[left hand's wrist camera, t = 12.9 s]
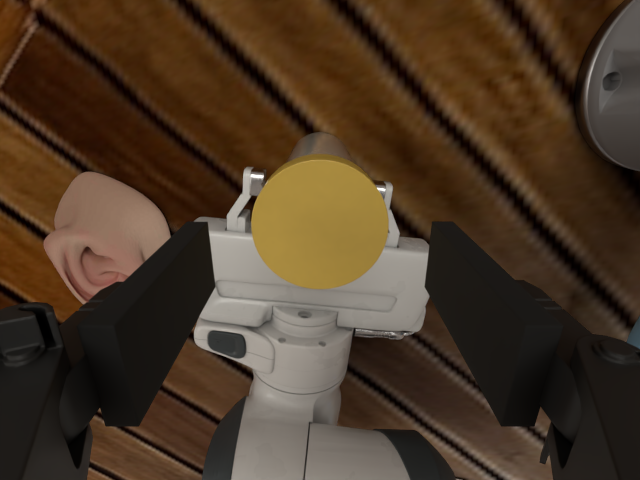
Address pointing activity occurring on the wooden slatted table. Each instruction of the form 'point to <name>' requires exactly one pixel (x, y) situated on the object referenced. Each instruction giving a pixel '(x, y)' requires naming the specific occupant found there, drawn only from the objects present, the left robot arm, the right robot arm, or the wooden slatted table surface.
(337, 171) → the lid
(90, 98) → the wooden slatted table surface
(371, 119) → the wooden slatted table surface
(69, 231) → the anatomical model
